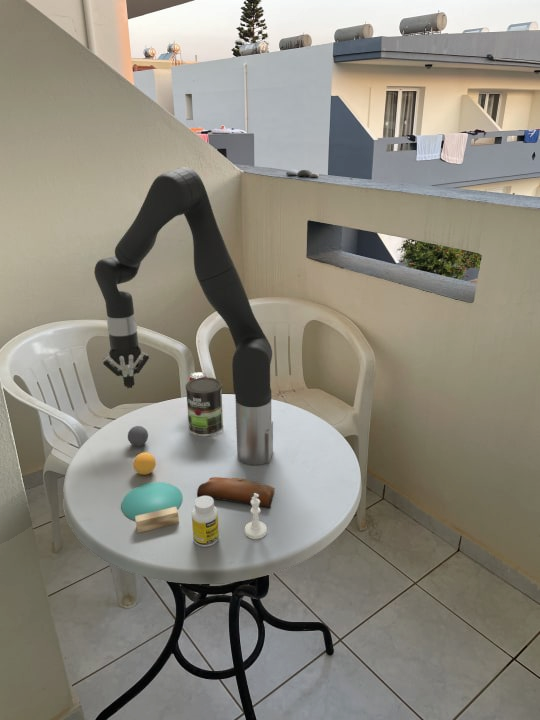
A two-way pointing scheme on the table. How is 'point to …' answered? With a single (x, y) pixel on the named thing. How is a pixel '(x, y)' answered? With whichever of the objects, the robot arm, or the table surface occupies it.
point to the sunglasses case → (236, 490)
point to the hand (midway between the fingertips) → (129, 386)
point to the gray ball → (137, 435)
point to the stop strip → (157, 519)
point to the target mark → (151, 499)
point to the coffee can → (204, 406)
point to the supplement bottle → (205, 522)
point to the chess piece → (255, 521)
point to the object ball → (144, 463)
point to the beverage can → (197, 375)
